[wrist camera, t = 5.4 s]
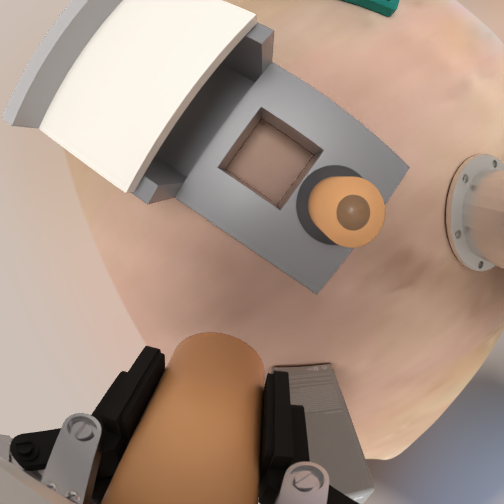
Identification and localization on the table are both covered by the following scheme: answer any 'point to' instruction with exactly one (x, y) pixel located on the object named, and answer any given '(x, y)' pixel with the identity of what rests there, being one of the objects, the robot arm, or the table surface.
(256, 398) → the peg
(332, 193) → the housing
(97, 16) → the lid
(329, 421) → the skincare box
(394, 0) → the digital multimeter
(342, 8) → the table surface
